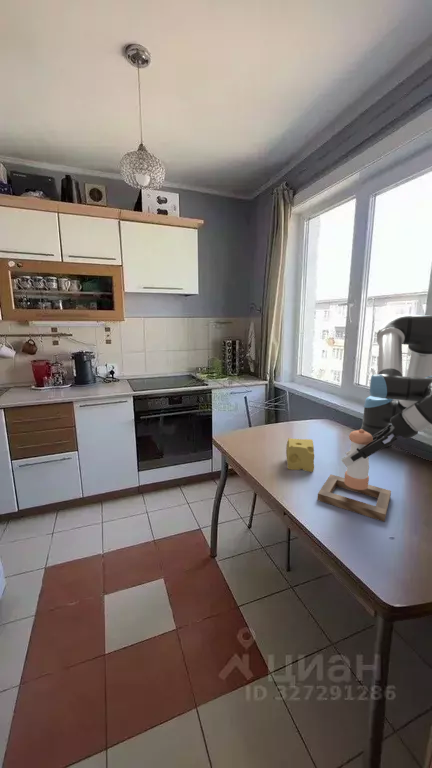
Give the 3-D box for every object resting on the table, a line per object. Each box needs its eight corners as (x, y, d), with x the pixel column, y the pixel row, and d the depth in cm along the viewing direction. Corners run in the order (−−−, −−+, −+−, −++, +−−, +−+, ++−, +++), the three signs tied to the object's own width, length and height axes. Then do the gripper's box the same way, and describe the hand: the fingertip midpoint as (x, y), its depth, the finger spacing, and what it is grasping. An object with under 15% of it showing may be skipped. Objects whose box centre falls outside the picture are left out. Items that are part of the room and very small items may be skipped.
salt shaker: (366, 492, 100) (372, 435, 96) (342, 485, 104) (347, 430, 100) (369, 482, 106) (375, 428, 102) (346, 476, 110) (351, 424, 106)
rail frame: (390, 497, 107) (391, 490, 107) (384, 521, 94) (385, 514, 94) (330, 480, 118) (330, 474, 118) (317, 500, 105) (317, 493, 105)
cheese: (313, 472, 124) (315, 448, 122) (285, 469, 126) (287, 446, 124) (311, 461, 134) (313, 439, 132) (285, 458, 136) (286, 436, 134)
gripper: (418, 442, 85) (347, 480, 97) (420, 424, 100) (359, 459, 112) (398, 419, 86) (331, 460, 99) (403, 405, 102) (345, 441, 114)
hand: (346, 459), depth 105 cm, fingers closed on salt shaker, 5 cm apart
